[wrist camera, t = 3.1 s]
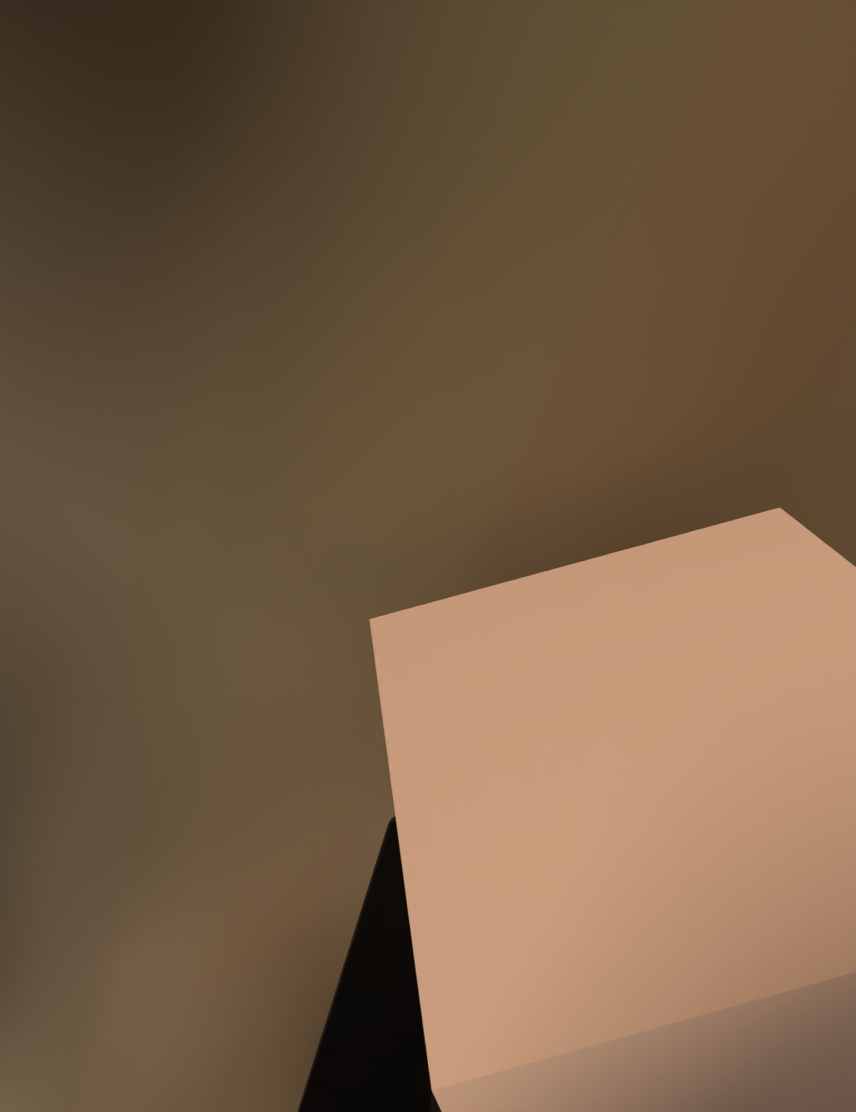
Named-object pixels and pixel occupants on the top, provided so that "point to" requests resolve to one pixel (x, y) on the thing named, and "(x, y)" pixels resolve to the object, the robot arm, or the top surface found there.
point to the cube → (634, 827)
